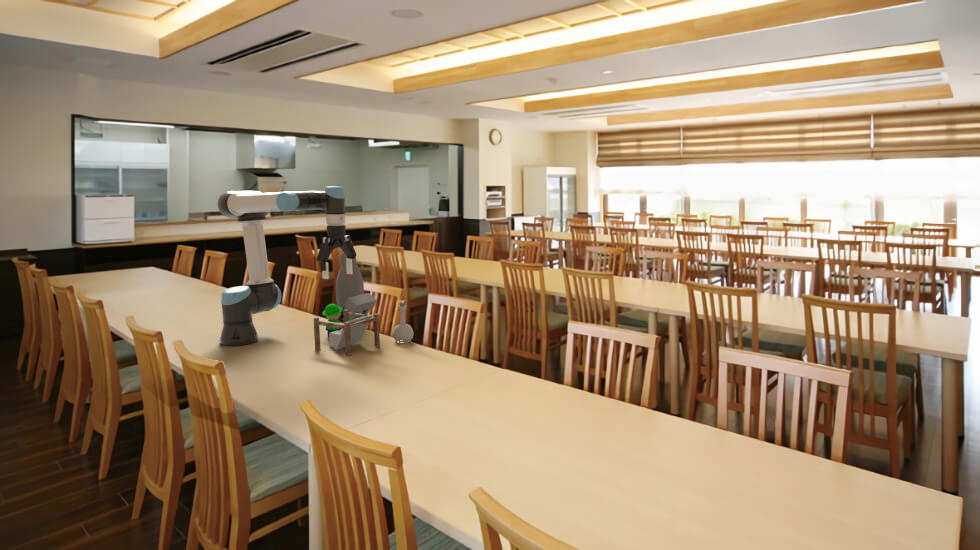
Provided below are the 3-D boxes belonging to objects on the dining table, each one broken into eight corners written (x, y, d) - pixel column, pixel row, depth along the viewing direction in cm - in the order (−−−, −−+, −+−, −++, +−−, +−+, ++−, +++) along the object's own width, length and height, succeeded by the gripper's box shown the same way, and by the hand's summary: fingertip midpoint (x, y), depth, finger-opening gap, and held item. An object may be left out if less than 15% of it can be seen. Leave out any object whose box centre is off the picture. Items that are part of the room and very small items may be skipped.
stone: (340, 348, 240) (329, 346, 243) (348, 345, 244) (338, 343, 247) (339, 334, 239) (329, 332, 242) (348, 332, 243) (337, 330, 246)
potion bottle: (415, 338, 254) (414, 298, 251) (410, 344, 246) (409, 302, 243) (395, 338, 255) (394, 298, 252) (390, 343, 246) (389, 302, 244)
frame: (315, 350, 238) (313, 318, 236) (347, 339, 253) (345, 309, 251) (348, 356, 228) (347, 323, 226) (379, 345, 244) (378, 314, 242)
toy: (347, 335, 261) (346, 302, 259) (336, 339, 253) (335, 306, 251) (330, 333, 264) (329, 301, 262) (319, 338, 256) (317, 305, 253)
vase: (354, 321, 286) (350, 251, 280) (372, 325, 279) (368, 253, 273) (332, 327, 276) (328, 254, 269) (351, 331, 268) (346, 257, 262)
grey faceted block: (335, 350, 235) (327, 341, 237) (359, 341, 247) (351, 334, 249) (355, 306, 226) (346, 298, 228) (379, 300, 238) (370, 292, 240)
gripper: (319, 227, 222) (321, 281, 226) (364, 223, 244) (365, 272, 247) (305, 226, 226) (308, 279, 229) (350, 222, 247) (352, 271, 251)
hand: (337, 276), depth 238 cm, fingers open, 13 cm apart
